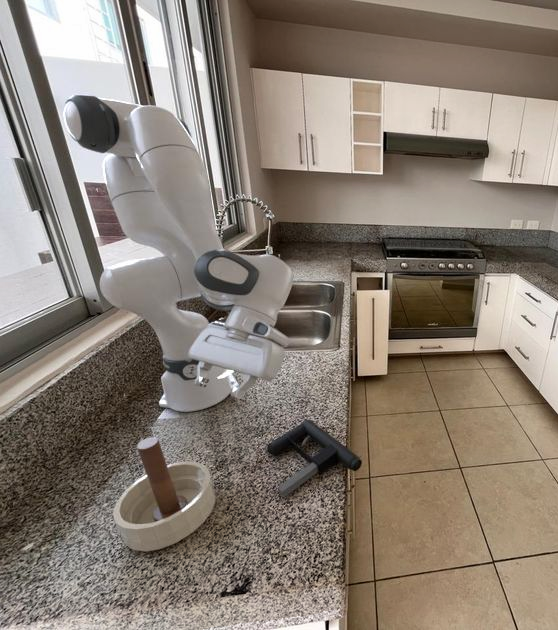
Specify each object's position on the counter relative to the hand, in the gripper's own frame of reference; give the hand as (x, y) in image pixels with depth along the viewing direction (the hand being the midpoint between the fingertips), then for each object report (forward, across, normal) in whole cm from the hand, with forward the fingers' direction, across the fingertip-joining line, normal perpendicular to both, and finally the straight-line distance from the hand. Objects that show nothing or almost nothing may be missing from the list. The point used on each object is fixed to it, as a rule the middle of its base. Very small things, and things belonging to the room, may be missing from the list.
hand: (217, 391), depth 67 cm
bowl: (+22, +1, +3) cm, 22 cm away
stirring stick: (+22, +1, +2) cm, 22 cm away
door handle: (+9, +15, +16) cm, 24 cm away
